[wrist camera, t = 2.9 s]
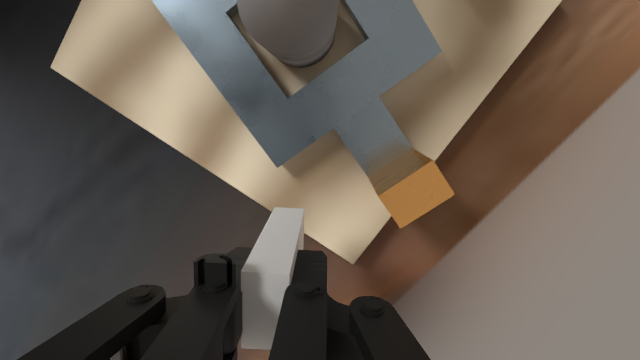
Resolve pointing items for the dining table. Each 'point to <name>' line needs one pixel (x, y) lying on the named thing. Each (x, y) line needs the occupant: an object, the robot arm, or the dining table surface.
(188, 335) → the robot arm
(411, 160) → the flange plate
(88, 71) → the post board
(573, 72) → the dining table surface
